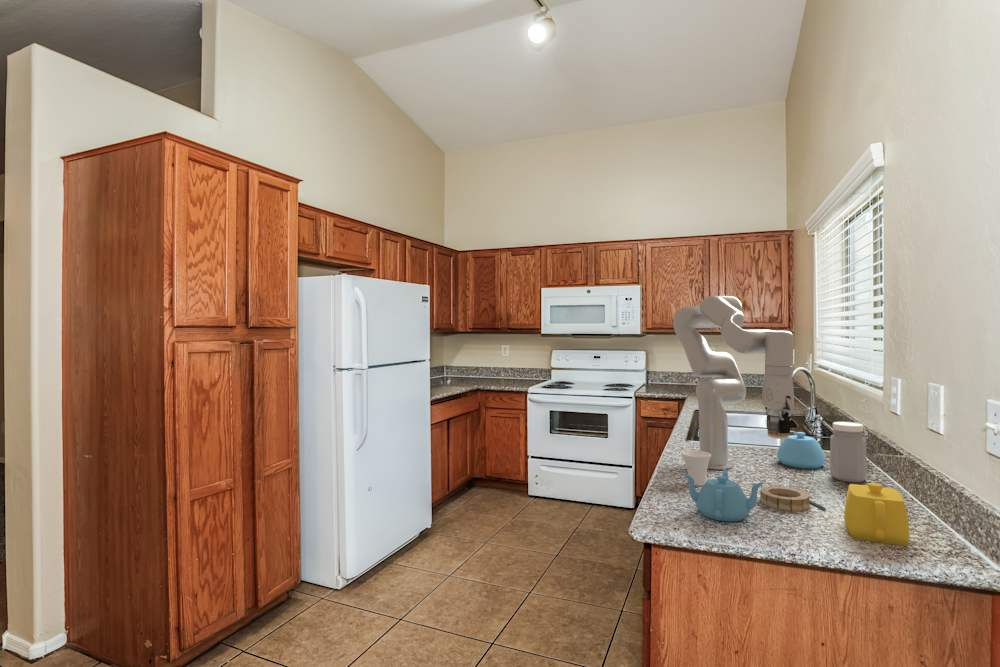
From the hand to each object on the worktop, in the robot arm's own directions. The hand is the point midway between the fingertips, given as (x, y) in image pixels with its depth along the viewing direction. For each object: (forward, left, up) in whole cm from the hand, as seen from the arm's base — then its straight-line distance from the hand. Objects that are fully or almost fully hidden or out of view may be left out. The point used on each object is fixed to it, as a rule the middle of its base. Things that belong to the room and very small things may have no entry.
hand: (778, 430), depth 158 cm
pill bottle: (0, 0, -2) cm, 2 cm away
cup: (-9, -22, -19) cm, 30 cm away
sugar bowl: (-30, +25, -19) cm, 43 cm away
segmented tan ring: (+11, -5, -18) cm, 22 cm away
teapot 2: (+32, +5, -19) cm, 38 cm away
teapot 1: (+18, -26, -19) cm, 37 cm away
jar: (-11, +29, -19) cm, 36 cm away
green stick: (+11, +3, -18) cm, 22 cm away
